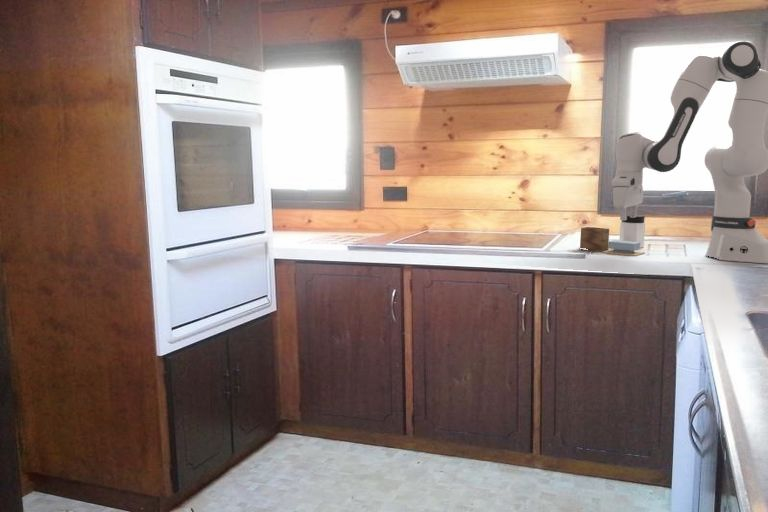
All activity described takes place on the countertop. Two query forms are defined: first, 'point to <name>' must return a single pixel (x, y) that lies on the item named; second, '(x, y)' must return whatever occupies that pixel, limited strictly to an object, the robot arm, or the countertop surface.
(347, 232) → the countertop surface
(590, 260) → the countertop surface
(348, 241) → the countertop surface
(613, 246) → the lid
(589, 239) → the box
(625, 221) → the jar
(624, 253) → the mat
